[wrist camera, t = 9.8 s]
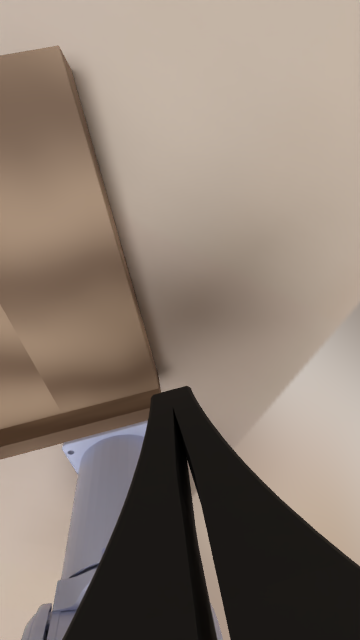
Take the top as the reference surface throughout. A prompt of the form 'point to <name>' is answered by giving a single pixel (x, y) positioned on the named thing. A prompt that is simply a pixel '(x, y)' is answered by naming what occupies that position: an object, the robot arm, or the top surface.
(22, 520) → the top surface
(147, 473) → the robot arm
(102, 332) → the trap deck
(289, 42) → the top surface
